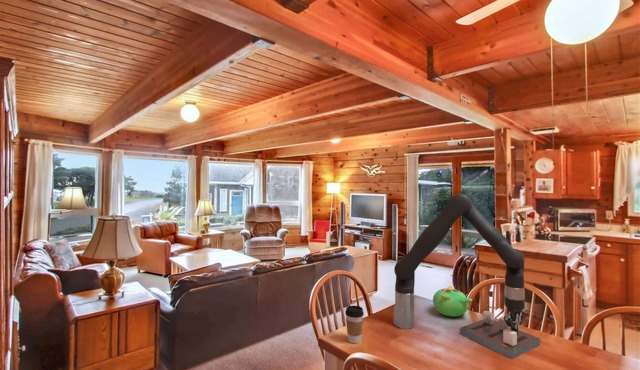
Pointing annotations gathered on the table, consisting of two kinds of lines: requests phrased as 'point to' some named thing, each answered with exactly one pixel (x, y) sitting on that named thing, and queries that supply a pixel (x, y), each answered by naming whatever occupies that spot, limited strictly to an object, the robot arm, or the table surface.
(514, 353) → the switch panel
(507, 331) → the white rectangular block
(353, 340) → the coffee cup
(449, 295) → the green rounded blob
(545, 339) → the table surface
